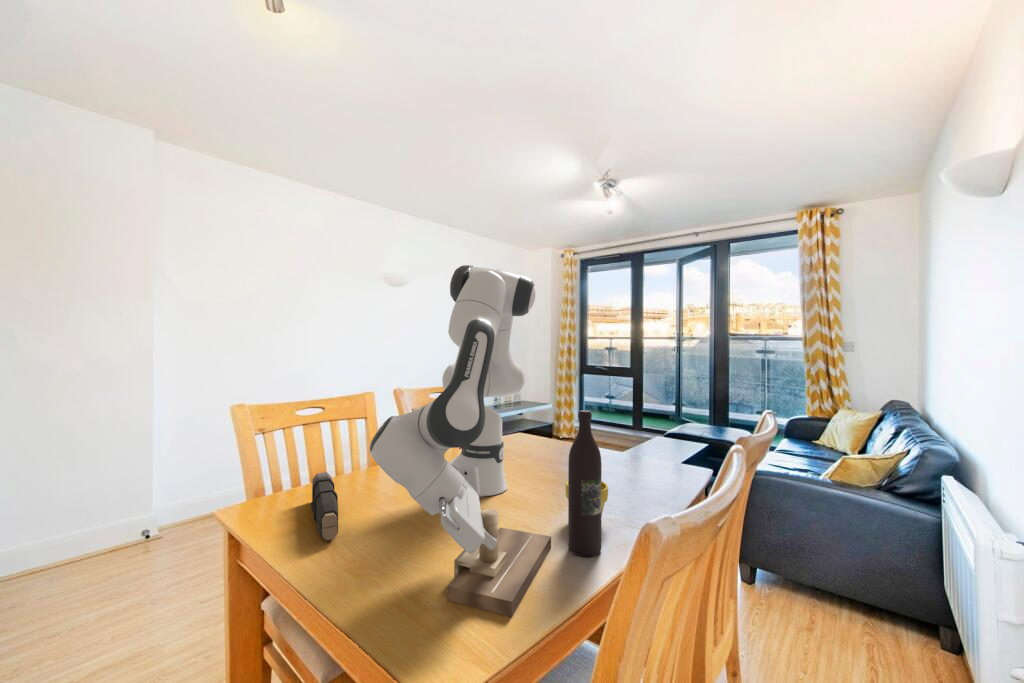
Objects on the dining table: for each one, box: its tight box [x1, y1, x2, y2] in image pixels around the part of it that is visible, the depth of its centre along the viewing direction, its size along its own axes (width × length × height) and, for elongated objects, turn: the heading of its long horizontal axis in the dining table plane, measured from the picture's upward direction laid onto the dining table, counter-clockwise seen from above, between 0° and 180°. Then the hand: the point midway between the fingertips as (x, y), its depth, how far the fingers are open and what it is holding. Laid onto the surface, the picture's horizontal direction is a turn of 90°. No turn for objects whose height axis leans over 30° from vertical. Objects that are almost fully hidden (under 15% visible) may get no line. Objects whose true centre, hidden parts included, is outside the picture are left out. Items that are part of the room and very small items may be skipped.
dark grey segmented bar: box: [310, 471, 339, 541], centre depth 102 cm, size 11×7×30 cm
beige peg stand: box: [453, 508, 507, 579], centre depth 77 cm, size 8×6×12 cm
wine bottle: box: [567, 409, 602, 558], centre depth 88 cm, size 7×7×30 cm
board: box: [446, 527, 552, 618], centre depth 79 cm, size 12×24×3 cm, turn 159°
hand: (493, 538), depth 77 cm, fingers closed on beige peg stand, 3 cm apart
